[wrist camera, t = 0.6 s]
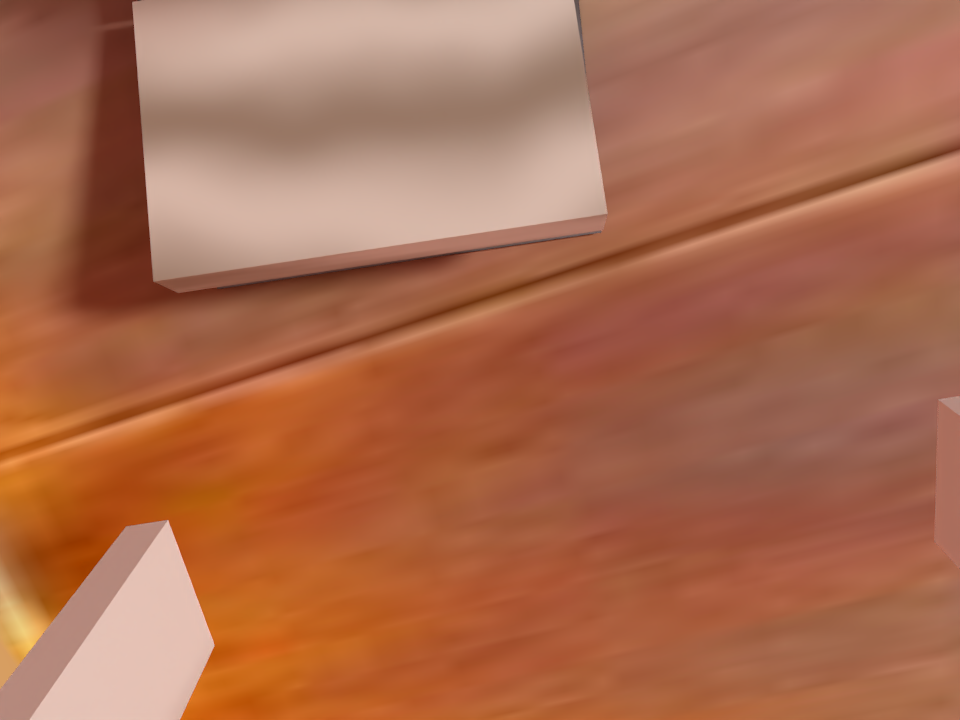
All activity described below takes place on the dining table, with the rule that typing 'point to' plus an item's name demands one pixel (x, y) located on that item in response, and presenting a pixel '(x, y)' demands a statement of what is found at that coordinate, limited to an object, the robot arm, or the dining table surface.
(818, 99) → the dining table surface
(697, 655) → the dining table surface
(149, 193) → the plank
